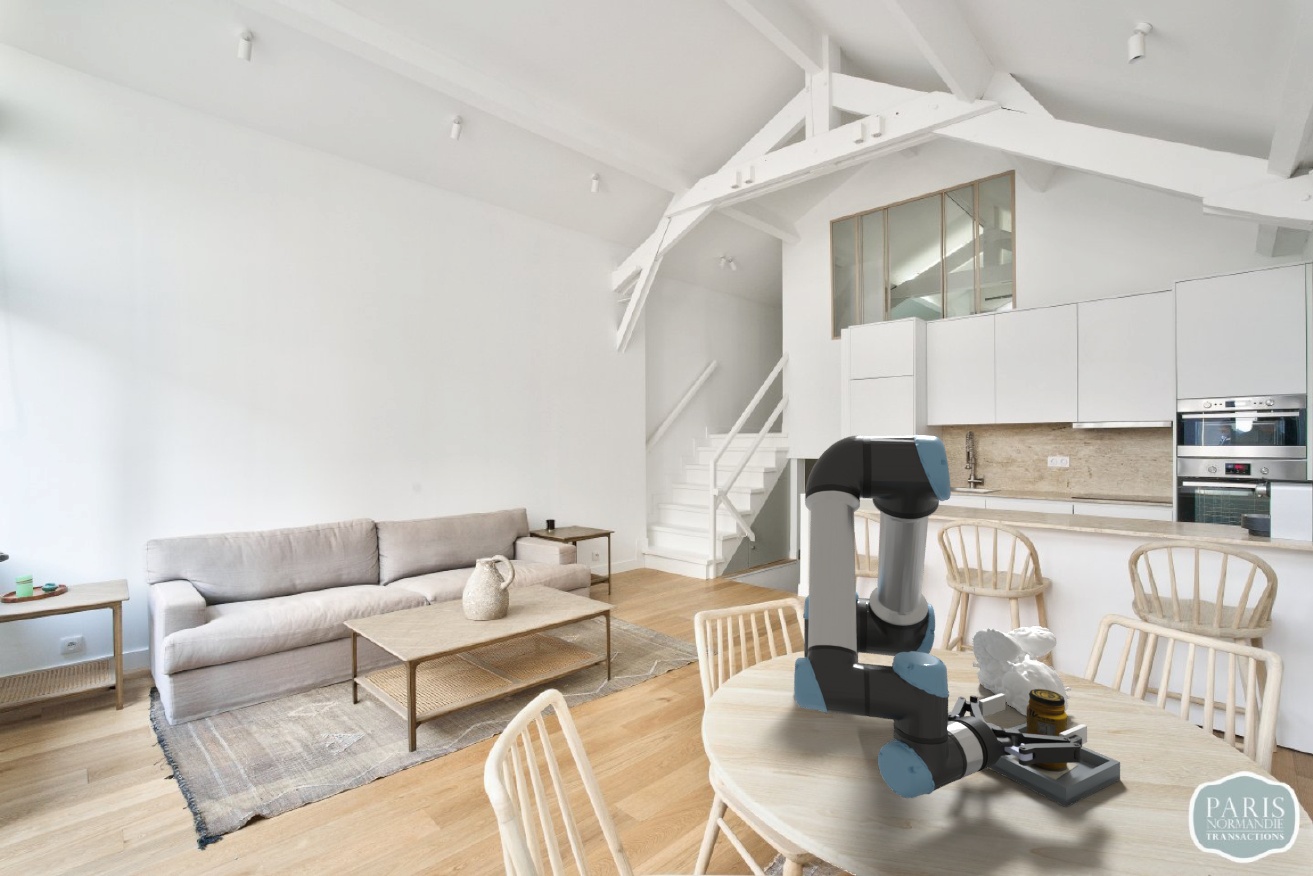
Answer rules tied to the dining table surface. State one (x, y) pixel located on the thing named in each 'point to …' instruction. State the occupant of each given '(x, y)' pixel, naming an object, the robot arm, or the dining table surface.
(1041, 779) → the tray
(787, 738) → the dining table surface
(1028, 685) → the white lumpy sculpture
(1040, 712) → the condiment
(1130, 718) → the dining table surface
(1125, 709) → the dining table surface
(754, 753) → the dining table surface
